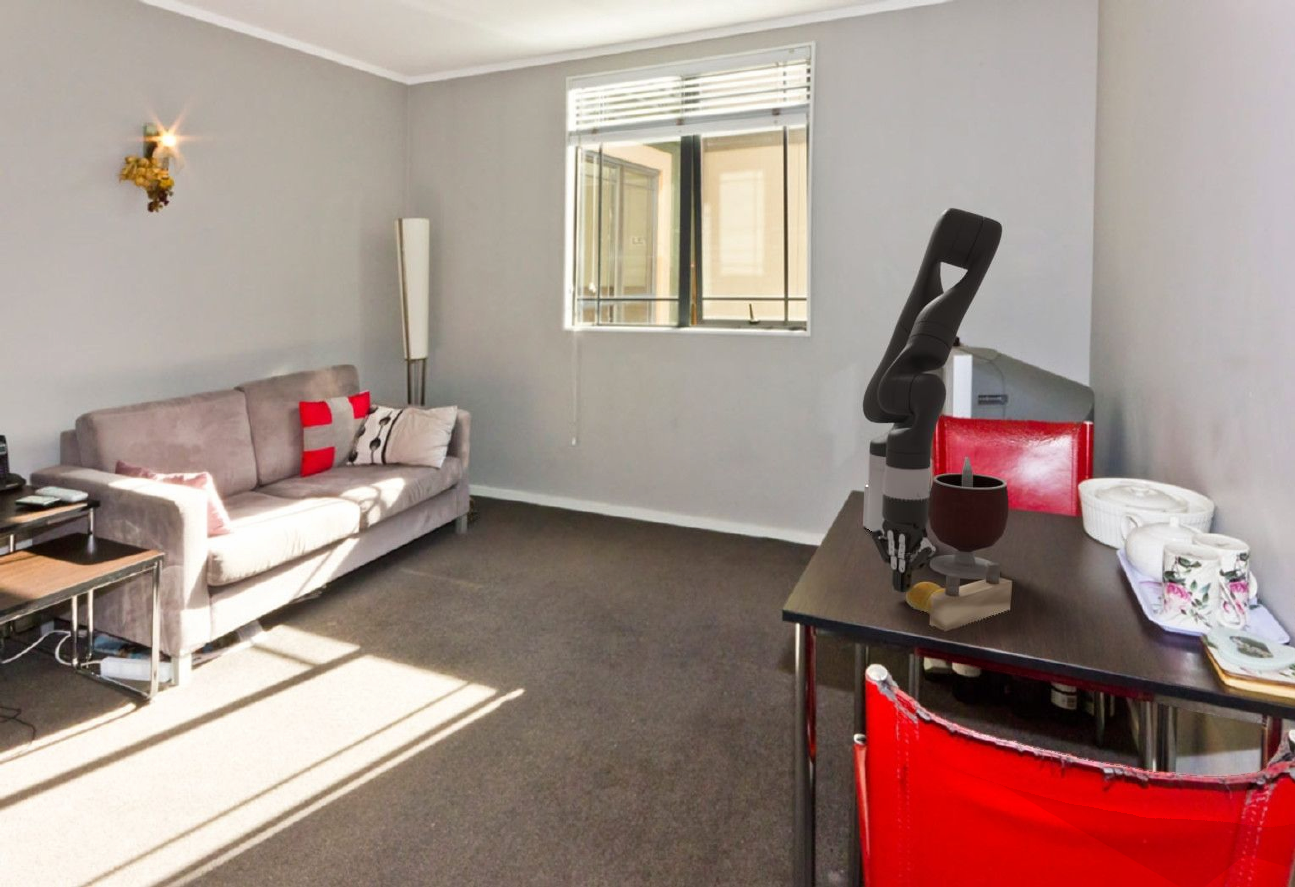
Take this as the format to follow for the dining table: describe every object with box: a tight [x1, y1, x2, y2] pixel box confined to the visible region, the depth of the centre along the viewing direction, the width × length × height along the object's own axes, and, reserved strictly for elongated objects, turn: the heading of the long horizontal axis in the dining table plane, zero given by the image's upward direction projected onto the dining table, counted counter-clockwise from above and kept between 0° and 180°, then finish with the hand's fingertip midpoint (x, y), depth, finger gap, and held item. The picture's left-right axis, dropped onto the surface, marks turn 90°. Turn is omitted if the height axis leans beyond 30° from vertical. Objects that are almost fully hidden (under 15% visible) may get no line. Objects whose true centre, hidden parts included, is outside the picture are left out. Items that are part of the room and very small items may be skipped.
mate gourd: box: [928, 456, 1010, 580], centre depth 150 cm, size 16×14×20 cm
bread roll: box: [905, 581, 946, 615], centre depth 132 cm, size 8×9×4 cm
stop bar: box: [929, 561, 1013, 632], centre depth 127 cm, size 3×16×8 cm, turn 121°
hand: (901, 590), depth 135 cm, fingers closed
